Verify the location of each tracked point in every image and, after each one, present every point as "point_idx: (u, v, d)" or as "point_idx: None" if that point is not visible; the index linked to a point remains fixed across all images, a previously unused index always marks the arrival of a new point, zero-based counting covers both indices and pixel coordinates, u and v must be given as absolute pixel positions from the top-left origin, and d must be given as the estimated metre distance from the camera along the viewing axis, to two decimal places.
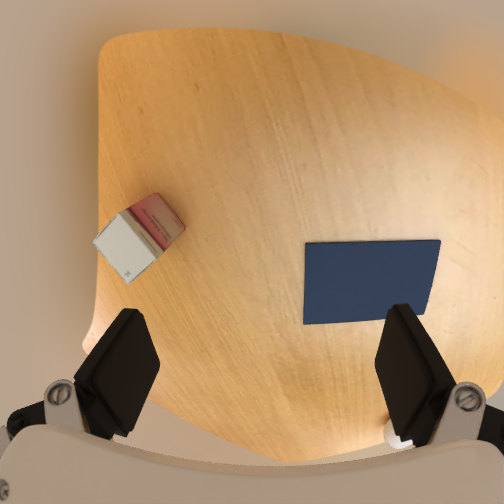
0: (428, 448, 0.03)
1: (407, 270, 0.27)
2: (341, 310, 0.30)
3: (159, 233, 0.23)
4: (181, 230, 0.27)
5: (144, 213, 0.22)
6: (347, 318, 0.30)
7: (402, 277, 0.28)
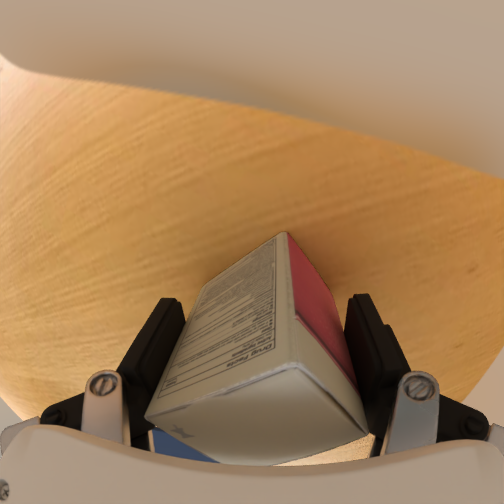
0: (428, 448, 0.03)
1: None
2: (163, 448, 0.22)
3: None
4: None
5: None
6: (156, 450, 0.22)
7: None
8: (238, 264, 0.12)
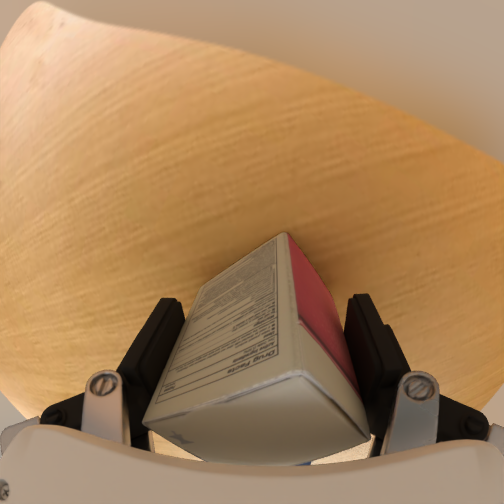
0: (428, 448, 0.03)
1: None
2: None
3: None
4: None
5: None
6: None
7: None
8: (237, 265, 0.12)
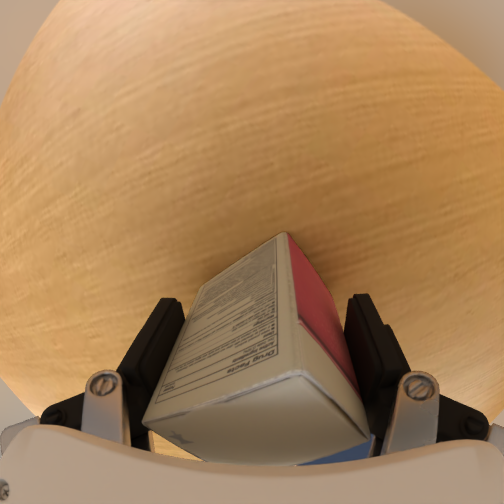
0: (428, 448, 0.03)
1: None
2: None
3: None
4: None
5: None
6: None
7: None
8: (237, 265, 0.12)
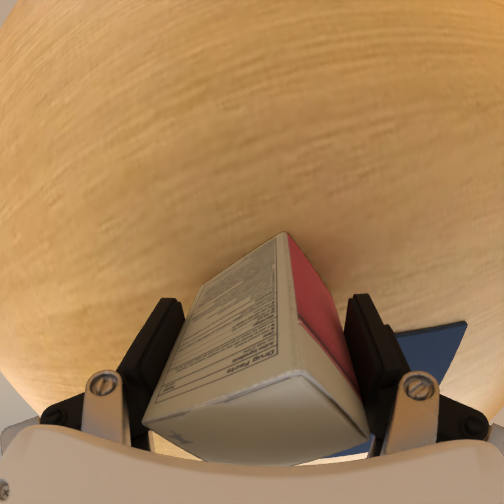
0: (428, 448, 0.03)
1: None
2: None
3: None
4: None
5: None
6: None
7: None
8: (237, 265, 0.12)
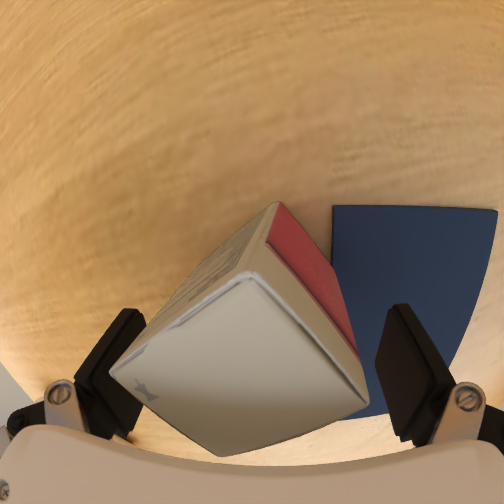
0: (428, 448, 0.03)
1: None
2: (365, 294, 0.13)
3: None
4: None
5: None
6: None
7: None
8: (231, 237, 0.12)
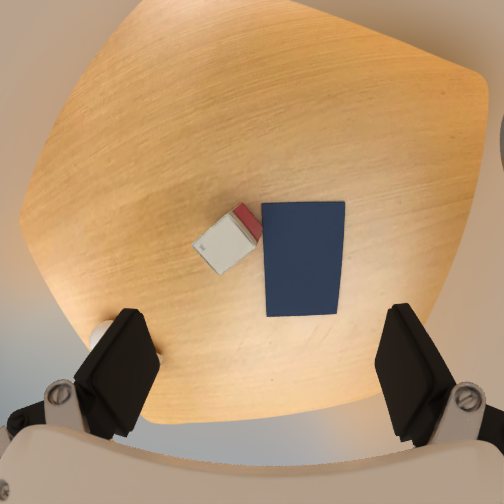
0: (428, 448, 0.03)
1: (314, 290, 0.36)
2: (278, 238, 0.34)
3: None
4: None
5: None
6: (268, 245, 0.34)
7: (308, 287, 0.36)
8: None
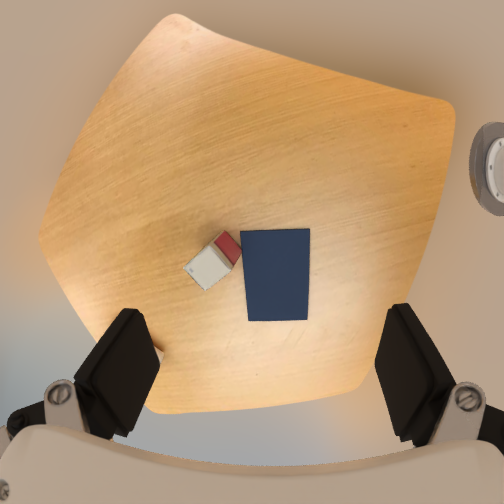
0: (428, 448, 0.03)
1: (286, 300, 0.44)
2: (254, 258, 0.41)
3: None
4: None
5: None
6: (247, 264, 0.42)
7: (282, 298, 0.44)
8: (211, 240, 0.41)
